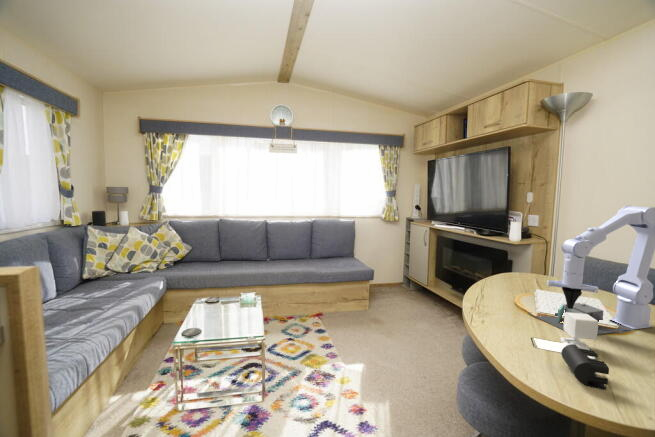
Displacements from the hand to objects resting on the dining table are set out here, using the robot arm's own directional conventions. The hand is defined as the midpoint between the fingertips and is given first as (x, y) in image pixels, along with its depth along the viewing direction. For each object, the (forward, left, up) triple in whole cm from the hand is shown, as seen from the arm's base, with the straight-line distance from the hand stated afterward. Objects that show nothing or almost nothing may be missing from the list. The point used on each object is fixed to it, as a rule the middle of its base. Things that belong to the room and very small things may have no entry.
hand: (569, 307), depth 114 cm
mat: (-5, -1, -6) cm, 8 cm away
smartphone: (+19, +13, -7) cm, 24 cm away
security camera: (+13, +13, -7) cm, 19 cm away
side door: (0, -4, -6) cm, 7 cm away
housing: (-8, -1, -6) cm, 10 cm away
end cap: (+28, +26, -7) cm, 39 cm away
